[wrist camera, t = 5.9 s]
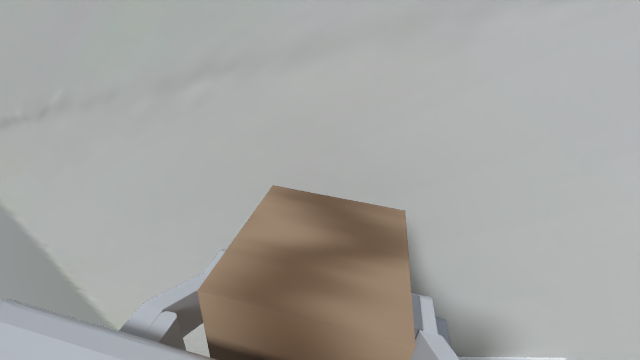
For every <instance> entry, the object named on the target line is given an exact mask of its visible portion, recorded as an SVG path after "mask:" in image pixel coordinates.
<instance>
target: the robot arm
mask: <svg viewBox="0 0 640 360" xmlns="http://www.w3.org/2000/svg"><path fill="white" fill-rule="evenodd" d="M225 251H226V249H222V250H221V251H220V252H219V253H218V254H217V256H216V257H215V258H214V260H213V261H212V262H211V264H210V265H209V266H208V268H207V269H206V270H205V272H204V273H203V274H202V276H200V275H198V276H196V277H194V278H192V279H190V280H188V281H186V282H184V283H182V284H180V285H178V286H176V287H174V288H172V289H170V290H168V291H166V292H164V293H162V294H160V295H158V296H156V297H154V298H153V299H151V300H149V301H147V302H145V303H143V304H142V305H141V306H140V308H139V309H138V310H137V311H136V312H135V313H134V314H133V315H132V317H131V318H130V319H129V320H128V321H127V322H126V323H125V324H124V326H123V327H122V328H121V329H120V330H119V331H117V330H114V329H110V328H107V327H104V326H100V325H97V324H93V323H90V322H87V321H83V320H79V319H76V318H73V317H70V316H66V315H63V314H59V313H56V312H53V311H49V310H46V309H42V308H39V307H36V306H32V305H29V304H25V303H22V302H19V301H16V300H12V299H0V360H216V359H213V358H209V357H206V356H203V355H199V354H196V353H192V352H189V351H186V348H185V344H184V341H183V337H184V336H186V335H187V334H188V333H190V332H191V331H192V330H194V329H195V328H196V327H198V326H199V325H200V324H202V323H203V318H202V313H201V308H200V303H199V298H198V293H197V290H198V289H199V288H200V286H201V285H202V283H203V282H204V281H205V279H206V278H207V276H208V275H209V274H210V272H211V271H212V269H213V268H214V267H215V265H216V264H217V263H218V261H219V260H220V258H221V257H222V256H223V254H224V253H225ZM412 306H413V319H414V332H415V345H416V348H415V350H414V352H413V354H412V357H411V359H410V360H460V359H459V358H458V357H457V355H456V354H455V353H454V351H453V350H452V349H451V347H450V346H449V344H448V343H447V342H446V340H445V339H444V338H443V336H441V335H438V330H437V324H436V318H435V311H434V305H433V299H432V298H431V297H428V296H424V295H419V294H416V293H412Z"/></svg>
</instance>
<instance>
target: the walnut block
mask: <svg viewBox="0 0 640 360" xmlns="http://www.w3.org/2000/svg"><path fill="white" fill-rule="evenodd" d="M197 293H198V298H199V303H200V308H201V313H202V318H203V323H204V328H205V333H206V338H207V343H208V348H209V353H210V358H213V359H216V360H410V359H411V357H412V354H413V352H414V350H415V348H416V345H415V332H414V319H413V306H412V293H411V280H410V267H409V254H408V241H407V228H406V216H405V211H404V210H399V209H393V208H388V207H383V206H378V205H372V204H367V203H362V202H357V201H352V200H346V199H341V198H336V197H331V196H325V195H320V194H315V193H310V192H305V191H299V190H294V189H289V188H284V187H278V186H272V187H271V189H270V190H269V192H268V193H267V194H266V196H265V197H264V199H263V200H262V201H261V203H260V204H259V206H258V207H257V208H256V210H255V211H254V212H253V214H252V215H251V217H250V218H249V219H248V221H247V222H246V224H245V225H244V226H243V228H242V229H241V231H240V232H239V233H238V235H237V236H236V238H235V239H234V240H233V242H232V243H231V244H230V246H229V247H228V249H227V250H226V251H225V253H224V254H223V256H222V257H221V258H220V260H219V261H218V263H217V264H216V265H215V267H214V268H213V269H212V271H211V272H210V274H209V275H208V276H207V278H206V279H205V281H204V282H203V283H202V285H201V286H200V288H199V289H198V290H197Z"/></svg>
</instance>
